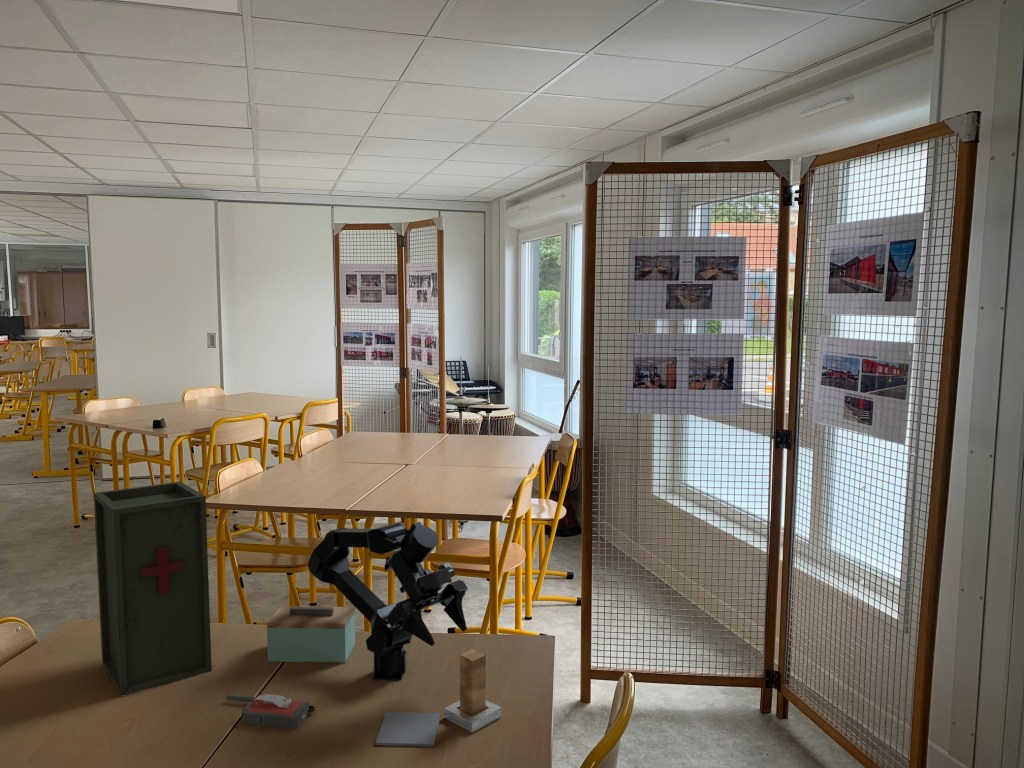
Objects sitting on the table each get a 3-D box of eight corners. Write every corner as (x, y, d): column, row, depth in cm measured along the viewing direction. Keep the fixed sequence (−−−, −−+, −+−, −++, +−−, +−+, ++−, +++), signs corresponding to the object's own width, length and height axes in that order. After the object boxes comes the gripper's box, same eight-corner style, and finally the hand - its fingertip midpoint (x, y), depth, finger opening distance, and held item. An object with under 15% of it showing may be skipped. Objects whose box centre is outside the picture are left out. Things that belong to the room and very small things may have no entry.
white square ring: (444, 717, 154) (444, 708, 154) (473, 702, 160) (473, 693, 160) (472, 732, 149) (472, 722, 149) (501, 716, 155) (501, 707, 155)
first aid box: (122, 696, 162) (113, 509, 158) (102, 665, 176) (93, 492, 172) (211, 671, 174) (205, 496, 170) (186, 643, 188) (180, 481, 184)
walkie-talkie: (320, 709, 158) (229, 700, 161) (319, 688, 158) (229, 680, 161) (301, 732, 150) (206, 722, 153) (301, 710, 149) (205, 701, 152)
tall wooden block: (460, 717, 155) (459, 654, 153) (473, 710, 157) (473, 649, 156) (472, 724, 152) (472, 660, 151) (485, 717, 155) (485, 654, 153)
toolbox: (267, 661, 179) (266, 616, 177) (281, 642, 188) (280, 599, 187) (345, 662, 178) (344, 617, 177) (355, 643, 188) (354, 600, 187)
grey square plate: (375, 745, 145) (375, 742, 144) (385, 714, 155) (385, 712, 155) (433, 746, 144) (433, 743, 144) (440, 715, 155) (440, 713, 155)
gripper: (394, 564, 154) (434, 631, 148) (460, 543, 168) (499, 603, 162) (370, 594, 160) (408, 660, 154) (436, 571, 174) (473, 631, 168)
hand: (449, 637), depth 159 cm, fingers open, 9 cm apart
